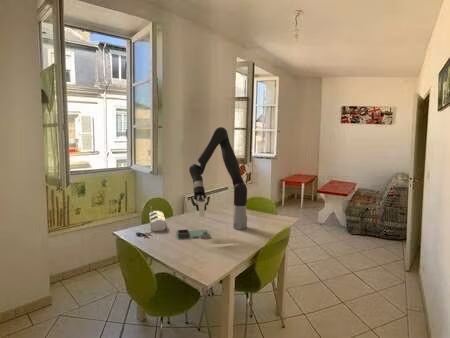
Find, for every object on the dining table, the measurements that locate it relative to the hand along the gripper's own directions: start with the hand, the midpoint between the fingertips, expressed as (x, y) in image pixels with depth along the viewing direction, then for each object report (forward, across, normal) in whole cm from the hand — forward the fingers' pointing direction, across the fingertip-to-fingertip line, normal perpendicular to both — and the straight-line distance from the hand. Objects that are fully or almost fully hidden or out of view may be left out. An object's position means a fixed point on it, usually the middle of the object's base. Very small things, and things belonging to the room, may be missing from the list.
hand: (201, 210), depth 208 cm
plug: (+2, 0, +4) cm, 5 cm away
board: (+12, -6, +13) cm, 19 cm away
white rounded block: (-8, -28, +34) cm, 45 cm away
